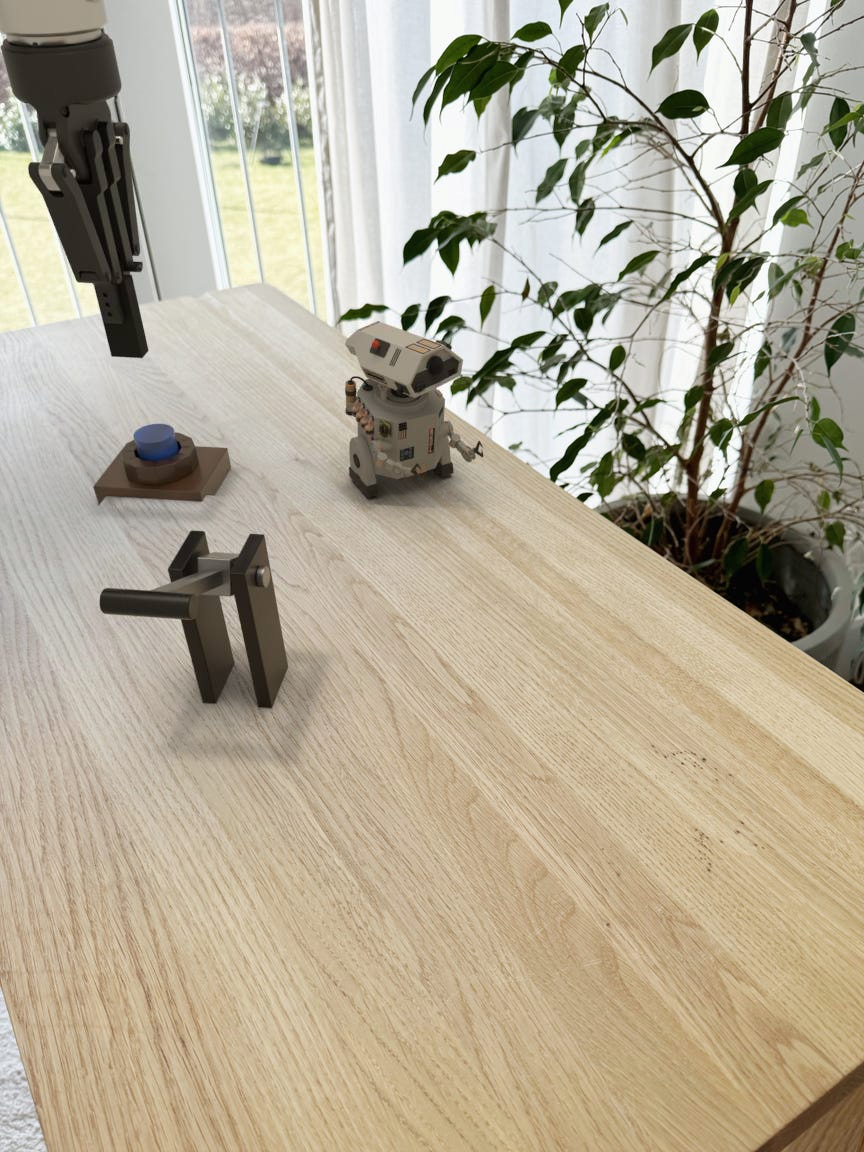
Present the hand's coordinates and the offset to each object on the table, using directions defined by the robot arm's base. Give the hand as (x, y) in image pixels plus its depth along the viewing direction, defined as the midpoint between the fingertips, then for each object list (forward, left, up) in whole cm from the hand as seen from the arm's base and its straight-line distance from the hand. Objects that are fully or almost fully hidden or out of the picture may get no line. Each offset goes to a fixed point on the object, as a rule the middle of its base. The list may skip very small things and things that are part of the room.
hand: (130, 353), depth 85 cm
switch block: (0, 0, -13) cm, 13 cm away
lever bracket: (+16, -27, -13) cm, 34 cm away
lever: (+16, -32, -1) cm, 36 cm away
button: (0, 0, -10) cm, 10 cm away
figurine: (+23, +2, -14) cm, 27 cm away
